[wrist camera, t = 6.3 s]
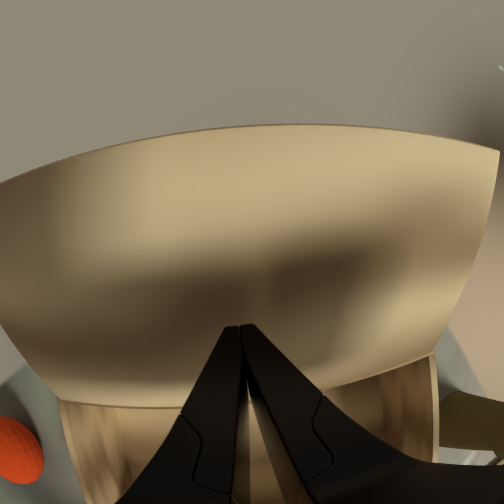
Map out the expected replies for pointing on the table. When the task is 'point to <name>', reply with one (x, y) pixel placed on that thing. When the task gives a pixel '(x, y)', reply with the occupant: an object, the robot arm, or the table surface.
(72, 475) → the table surface
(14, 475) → the clementine
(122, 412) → the kraft carton
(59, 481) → the table surface
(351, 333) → the carton flap
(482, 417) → the cork
